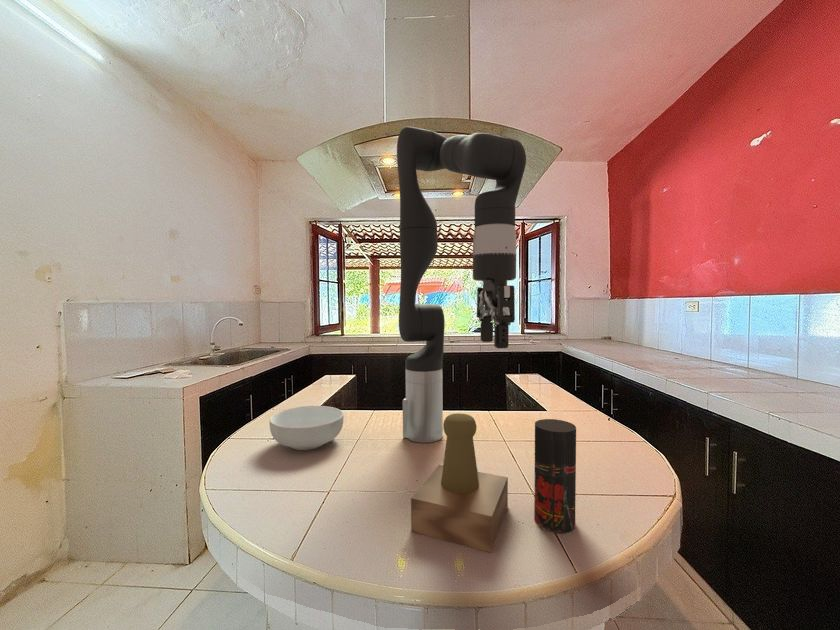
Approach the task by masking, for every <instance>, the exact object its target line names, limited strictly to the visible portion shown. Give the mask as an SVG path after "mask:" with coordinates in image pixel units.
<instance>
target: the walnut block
mask: <svg viewBox="0 0 840 630" xmlns="http://www.w3.org/2000/svg"><path fill="white" fill-rule="evenodd" d="M442 471H443V464H439V465H438V466H437V467H436V468H435V469H434V470H433V472H431V474H430V475H429V476H428V478H427V479H426V480H425V481H424V482H423V483H422V484H421V486H420V487H419V488H418V489H417V490H416V491H415V492H414V493H413V495H412V496H411V498H410V531H411V532H412V533H416V534H420V535H424V536H428V537H432V538H436V539H440V540H443V541H447V542H450V543H454V544H458V545H462V546H466V547H470V548H473V549H475V550H480V551H484V552H488V553H493V550H494V547H495V544H496V542H497V539H498V536H499V533H500V530H501V527H502V525H503V521H504V518H505V516H506V513H507V510H508V506H509V498H508V494H509V493H508V492H509V490H508V489H509V483H508V480H509V477H507V476H504V475H497V474H492V473H488V472H487V473H486V472H482V471H481V472H480V471H477V472H478V480H479V487H478V489H477V490H476V491H473V492H471V493H466V494H458V493H452V492H450V491H447V490H445V489H444V488H443V487H442V485H441V479H442Z"/></svg>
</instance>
